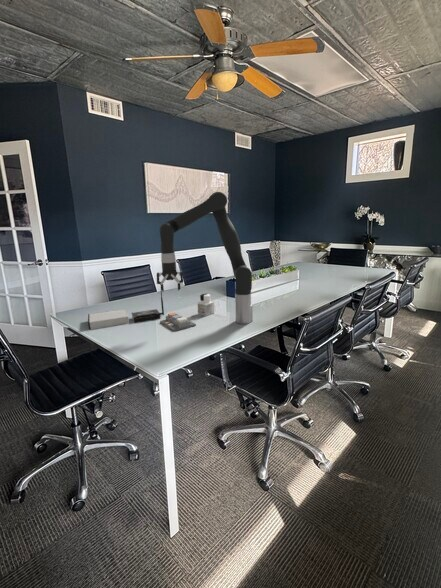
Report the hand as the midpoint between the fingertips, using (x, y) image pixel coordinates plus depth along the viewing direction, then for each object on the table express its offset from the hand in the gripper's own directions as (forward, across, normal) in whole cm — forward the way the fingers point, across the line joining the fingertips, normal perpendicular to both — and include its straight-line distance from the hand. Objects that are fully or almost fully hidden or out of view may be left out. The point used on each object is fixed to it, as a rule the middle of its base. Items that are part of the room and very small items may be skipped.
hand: (170, 290), depth 162 cm
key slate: (+19, -2, -7) cm, 21 cm away
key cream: (+19, -5, -2) cm, 20 cm away
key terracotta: (+19, 0, -12) cm, 23 cm away
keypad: (+22, -2, -7) cm, 23 cm away
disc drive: (+23, +40, -22) cm, 51 cm away
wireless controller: (+23, +16, -24) cm, 36 cm away
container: (+22, -21, -24) cm, 39 cm away
